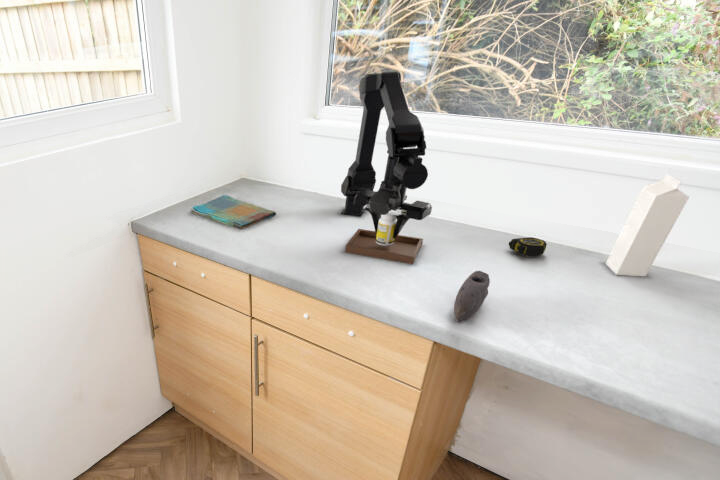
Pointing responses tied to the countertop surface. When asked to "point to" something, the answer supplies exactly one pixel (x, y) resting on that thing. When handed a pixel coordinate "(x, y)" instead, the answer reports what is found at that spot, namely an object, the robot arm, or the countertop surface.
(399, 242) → the tray
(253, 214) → the dish towel
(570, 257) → the countertop surface
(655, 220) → the milk
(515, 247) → the tape measure
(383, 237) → the supplement bottle
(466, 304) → the perforated stone tool
